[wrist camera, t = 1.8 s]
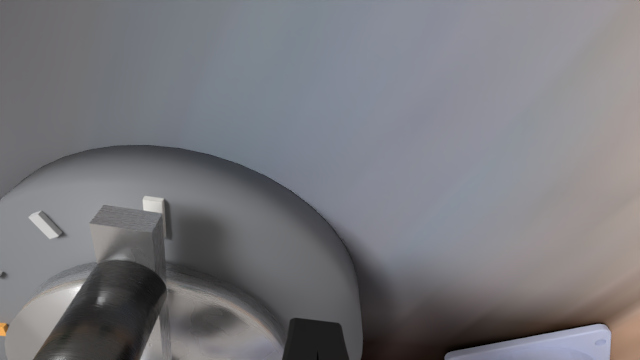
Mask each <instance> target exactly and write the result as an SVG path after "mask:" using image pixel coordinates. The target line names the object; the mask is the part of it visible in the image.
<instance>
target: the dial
mask: <svg viewBox="0 0 640 360" xmlns="http://www.w3.org/2000/svg"><path fill="white" fill-rule="evenodd" d="M89 225H90V230H91V235H92V240H93V245H94V250H95V255H96V260H97V262H92V263H87V264H83V265H78V266H75V267H73V268H70V269H67V270H64V271H62V272H60V273H58V274H56V275H55V276H53V277H51V278H49V279H48V280H47V281H46V282H44V283H43V284H42V285H41V286H39V288H38V289H37V290H36V291H35V292H34V294H33V295H32V296H31V297H30V299H29V300H28V301H27V303H26V304H25V305H24V306H23V308H22V309H21V310H20V312H19V313H18V314H17V315H16V317H15V318H14V319H13V321H12V322H11V323H10V325H9V328H8V330H7V332H6V337H5V353H6V356H7V359H8V360H282V357H283V352H284V347H285V342H286V338H287V334H286V333H285V331H284V329H283V327H282V326H281V324H280V323H279V322H278V320H277V319H276V318H275V317H274V315H273V314H272V313H270V312H269V311H268V310H267V309H266V308H265V307H264V306H263V305H262V304H261V303H259V302H258V301H257V300H255V299H254V298H253V297H251V296H250V295H249V294H247V293H245V292H244V291H242V290H240V289H239V288H237V287H235V286H233V285H231V284H229V283H227V282H225V281H223V280H221V279H219V278H216V277H214V276H211V275H208V274H206V273H203V272H200V271H197V270H194V269H190V268H186V267H182V266H179V265H174V264H168V263H166V261H165V245H164V229H163V214H162V213H158V212H151V211H144V210H137V209H130V208H123V207H115V206H108V205H103V206H102V208H101V209H100V210H99V211H98V213H97V214H96V215H95V217H94V218H93V219H92V220H91V222H90V223H89Z"/></svg>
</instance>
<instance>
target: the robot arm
mask: <svg viewBox="0 0 640 360" xmlns="http://www.w3.org/2000/svg"><path fill="white" fill-rule="evenodd" d="M610 348H611V331H610V330H609V328H608V327H607V326H606V325H604V324H594V325H589V326H584V327H578V328H573V329H568V330H562V331H557V332H552V333H546V334H541V335H536V336H530V337H525V338H520V339H515V340H509V341H504V342H499V343H493V344H488V345H483V346H477V347H472V348H467V349H461V350H456V351H451V352H449V353H447V354H446V355H445V358H444V359H445V360H610ZM282 360H349V356H348V352H347V348H346V344H345V340H344V336H343V331H342V326H341V325H340V324H339V323H336V322H328V321H319V320H311V319H303V318H293V319H291V320H290V323H289V328H288V333H287V338H286V342H285V347H284V352H283V357H282Z"/></svg>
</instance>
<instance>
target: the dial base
mask: <svg viewBox="0 0 640 360" xmlns="http://www.w3.org/2000/svg"><path fill="white" fill-rule="evenodd" d="M103 205H108V206H115V207H123V208H130V209H137V210H144V211H151V212H158V213H162V214H163V229H164V245H165V261H166V263H168V264H174V265H179V266H182V267H186V268H190V269H194V270H197V271H200V272H203V273H206V274H208V275H211V276H214V277H216V278H219V279H221V280H223V281H225V282H227V283H229V284H231V285H233V286H235V287H237V288H239V289H240V290H242V291H244V292H245V293H247V294H249V295H250V296H251V297H253V298H254V299H255V300H257V301H258V302H259V303H261V304H262V305H263V306H264V307H265V308H266V309H267V310H268V311H269V312H270V313H272V314H273V315H274V317H275V318H276V319H277V320H278V322H279V323H280V324H281V326H282V327H283V329H284V331H285V333H286V334H287V333H288V328H289V323H290V320H291V319H293V318H303V319H311V320H319V321H328V322H336V323H339V324H340V325H341V326H342V331H343V336H344V340H345V344H346V348H347V352H348V356H349V360H361V356H362V347H363V332H362V320H361V307H360V295H359V287H358V280H357V274H356V271H355V268H354V266H353V263H352V260H351V257H350V255H349V254H348V252H347V250H346V248H345V246H344V245H343V243H342V241H341V239H340V238H339V237H338V236H337V234H336V233H335V232H334V230H333V229H332V228H331V227H330V225H329V224H328V223H327V222H326V221H325V220H324V219H323V218H322V217H321V216H320V215H319V214H318V213H317V212H316V211H315V210H314V209H313V208H312V207H311V206H310V205H308V204H307V203H306V202H304V201H303V200H302V199H300V198H299V197H298V196H296V195H295V194H294V193H293V192H291V191H290V190H288V189H287V188H285V187H283V186H281V185H280V184H278V183H276V182H275V181H273V180H271V179H269V178H268V177H266V176H264V175H262V174H260V173H257V172H255V171H253V170H251V169H248V168H246V167H244V166H242V165H239V164H237V163H234V162H230V161H227V160H224V159H221V158H218V157H215V156H212V155H209V154H204V153H199V152H194V151H190V150H185V149H180V148H171V147H161V146H151V145H126V146H112V147H104V148H97V149H90V150H86V151H83V152H79V153H76V154H72V155H69V156H65V157H63V158H60V159H58V160H56V161H54V162H51V163H49V164H47V165H45V166H43V167H41V168H40V169H38V170H37V171H35V172H34V173H32V174H31V175H29V176H28V177H26V178H25V179H24V180H22V181H21V182H20V183H19V184H18V185H17V186H15V187H14V188H13V189H12V190H11V191H10V192H9V193H7V194H6V195H5V196H4V197H3V198H2V199H0V360H8V359H7V356H6V353H5V337H6V332H7V330H8V328H9V325H10V323H11V322H12V321H13V319H14V318H15V317H16V315H17V314H18V313H19V312H20V310H21V309H22V308H23V306H24V305H25V304H26V303H27V301H28V300H29V299H30V297H31V296H32V295H33V294H34V292H35V291H36V290H37V289H38V288H39V286H41V285H42V284H43V283H44V282H46V281H47V280H48V279H49V278H51V277H53V276H55V275H56V274H58V273H60V272H62V271H64V270H67V269H70V268H73V267H75V266H78V265H83V264H87V263H92V262H97V260H96V255H95V250H94V245H93V240H92V235H91V230H90V225H89V223H90V222H91V220H92V219H93V218H94V217H95V215H96V214H97V213H98V211H99V210H100V209H101V208H102V206H103Z"/></svg>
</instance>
